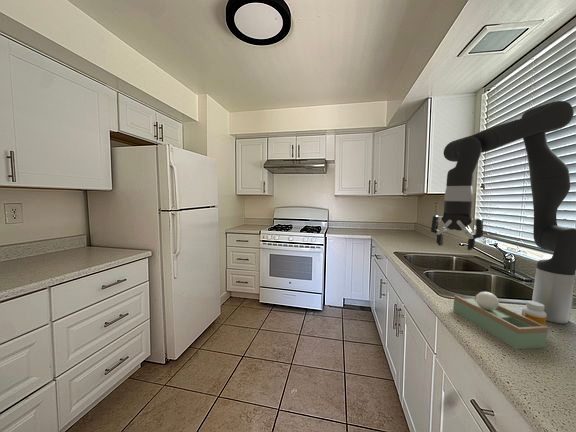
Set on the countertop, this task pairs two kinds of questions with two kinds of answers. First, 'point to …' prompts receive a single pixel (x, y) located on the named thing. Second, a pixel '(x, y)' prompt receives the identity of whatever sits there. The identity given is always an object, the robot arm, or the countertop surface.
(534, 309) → the supplement bottle
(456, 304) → the runway
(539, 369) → the countertop surface
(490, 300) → the ball
